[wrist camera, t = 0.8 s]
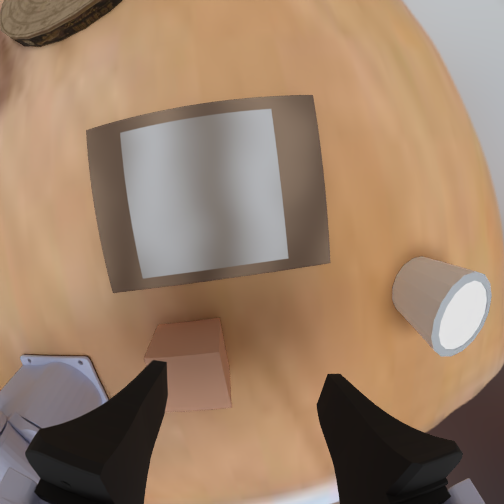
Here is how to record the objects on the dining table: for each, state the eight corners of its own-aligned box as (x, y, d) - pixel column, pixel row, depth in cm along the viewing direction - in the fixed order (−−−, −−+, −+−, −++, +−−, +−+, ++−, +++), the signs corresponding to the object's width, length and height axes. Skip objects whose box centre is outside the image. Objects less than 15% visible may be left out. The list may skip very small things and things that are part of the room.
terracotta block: (173, 373, 23) (164, 412, 18) (158, 324, 22) (143, 358, 17) (229, 368, 23) (231, 407, 18) (219, 317, 22) (219, 352, 17)
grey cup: (379, 323, 24) (420, 365, 17) (392, 248, 22) (446, 272, 15) (433, 317, 24) (477, 349, 17) (448, 250, 23) (500, 270, 16)
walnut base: (118, 287, 21) (101, 305, 17) (92, 132, 18) (70, 125, 14) (325, 258, 22) (342, 273, 18) (308, 99, 19) (323, 85, 15)
